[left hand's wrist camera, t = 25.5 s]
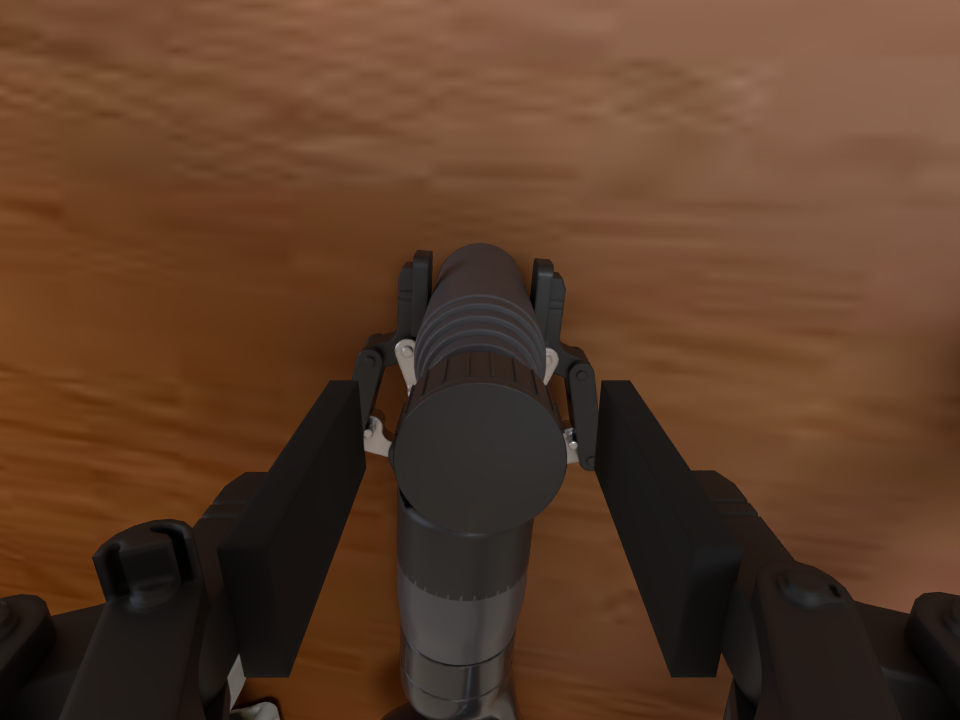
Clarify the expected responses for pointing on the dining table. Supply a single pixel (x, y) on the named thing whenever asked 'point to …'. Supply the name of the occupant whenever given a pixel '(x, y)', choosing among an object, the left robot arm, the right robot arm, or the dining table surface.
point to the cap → (480, 444)
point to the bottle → (479, 312)
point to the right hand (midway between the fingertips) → (483, 258)
